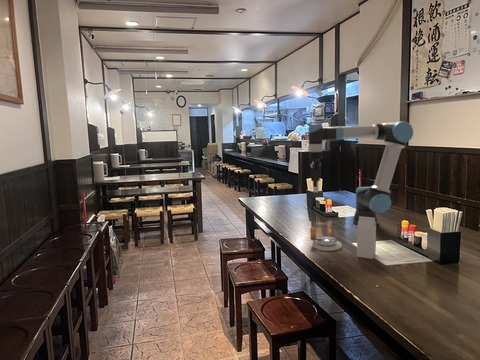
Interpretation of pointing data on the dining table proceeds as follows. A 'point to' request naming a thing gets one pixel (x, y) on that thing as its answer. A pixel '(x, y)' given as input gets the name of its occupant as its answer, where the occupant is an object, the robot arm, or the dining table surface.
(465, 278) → the dining table surface
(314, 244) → the plate
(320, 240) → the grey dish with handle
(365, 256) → the milk carton
